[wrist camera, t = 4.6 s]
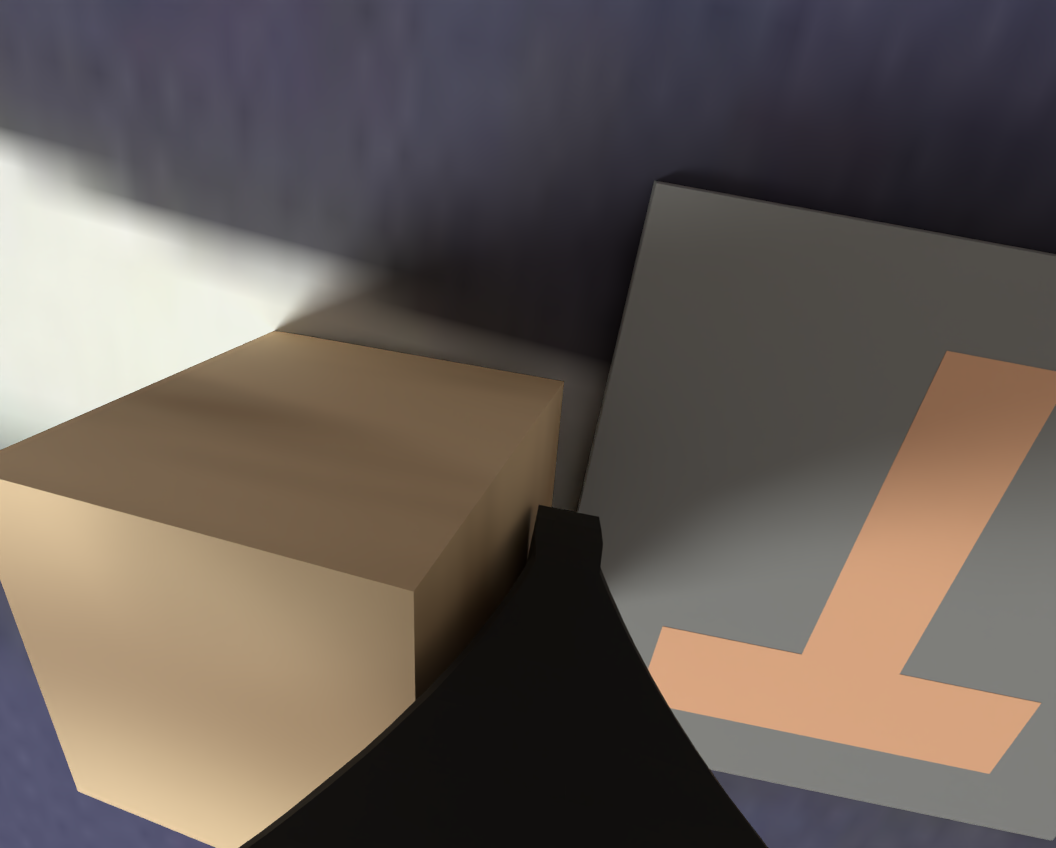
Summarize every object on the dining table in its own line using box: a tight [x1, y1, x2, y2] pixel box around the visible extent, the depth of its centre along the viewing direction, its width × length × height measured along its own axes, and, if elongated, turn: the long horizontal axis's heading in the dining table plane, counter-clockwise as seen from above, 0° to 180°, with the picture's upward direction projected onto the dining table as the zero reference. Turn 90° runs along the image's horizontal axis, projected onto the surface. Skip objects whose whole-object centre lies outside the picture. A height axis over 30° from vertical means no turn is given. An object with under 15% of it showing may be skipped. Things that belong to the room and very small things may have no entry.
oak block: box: [0, 331, 564, 848], centre depth 9 cm, size 5×5×5 cm
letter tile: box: [577, 180, 1056, 841], centre depth 11 cm, size 11×11×1 cm
